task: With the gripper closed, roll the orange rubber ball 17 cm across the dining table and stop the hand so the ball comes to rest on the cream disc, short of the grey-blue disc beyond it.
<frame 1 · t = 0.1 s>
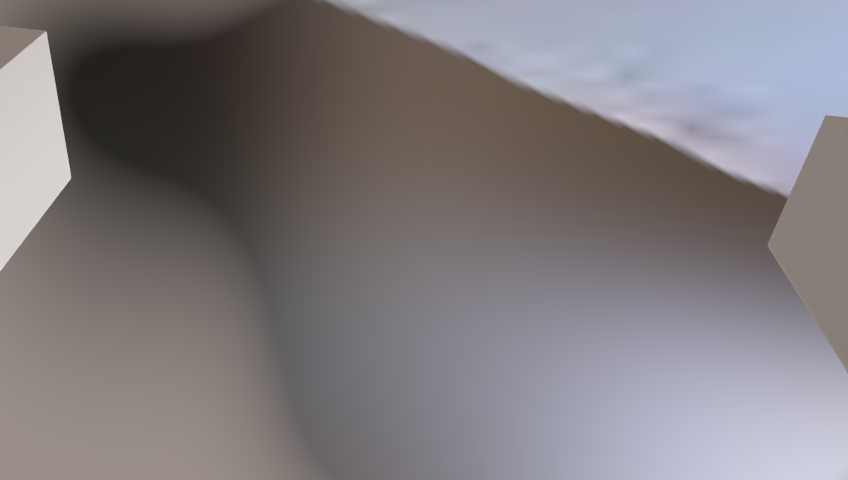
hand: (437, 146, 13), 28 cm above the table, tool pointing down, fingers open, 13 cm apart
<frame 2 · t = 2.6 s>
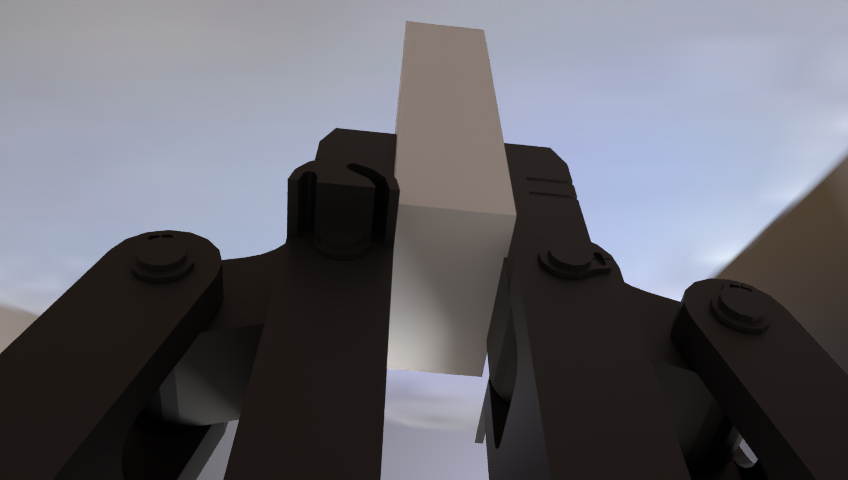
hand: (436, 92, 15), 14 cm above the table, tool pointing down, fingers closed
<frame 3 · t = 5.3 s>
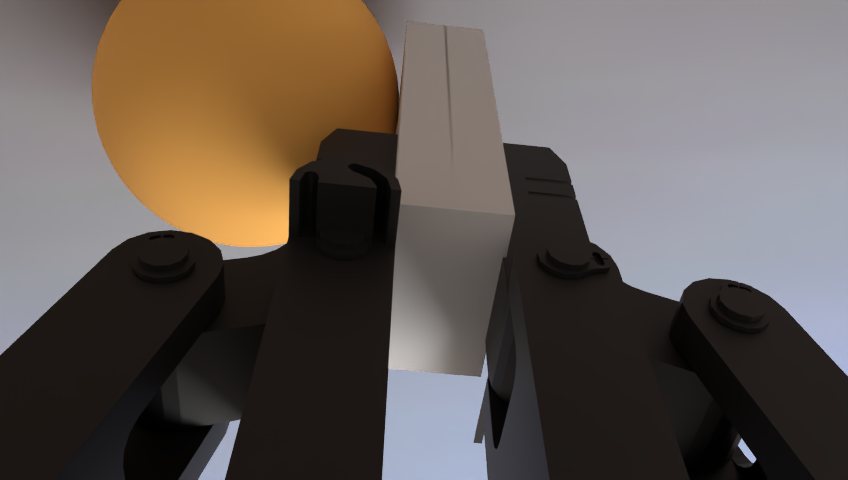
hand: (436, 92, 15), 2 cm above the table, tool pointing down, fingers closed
ball: (251, 100, 14), on the table, touching gripper
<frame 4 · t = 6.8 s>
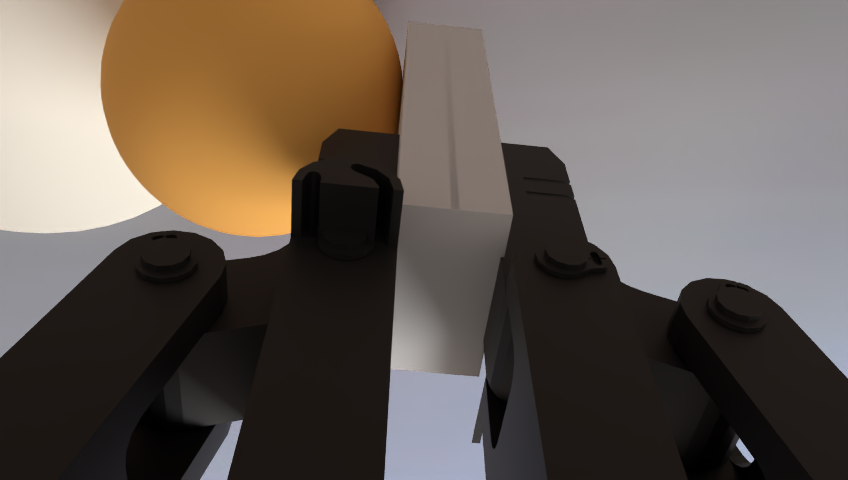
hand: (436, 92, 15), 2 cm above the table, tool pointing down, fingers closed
ball: (257, 91, 15), on the table, touching gripper
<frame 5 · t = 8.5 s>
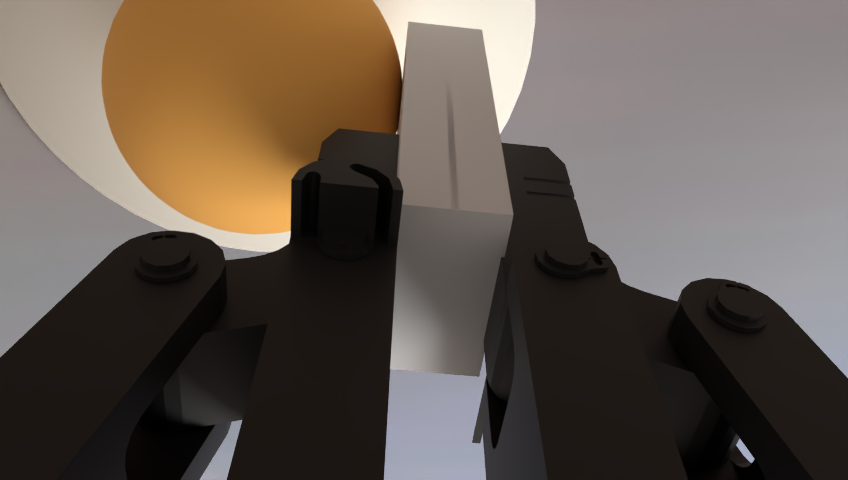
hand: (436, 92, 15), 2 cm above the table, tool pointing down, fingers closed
ball: (258, 89, 15), on the table, touching gripper
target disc: (256, 22, 17), on the table
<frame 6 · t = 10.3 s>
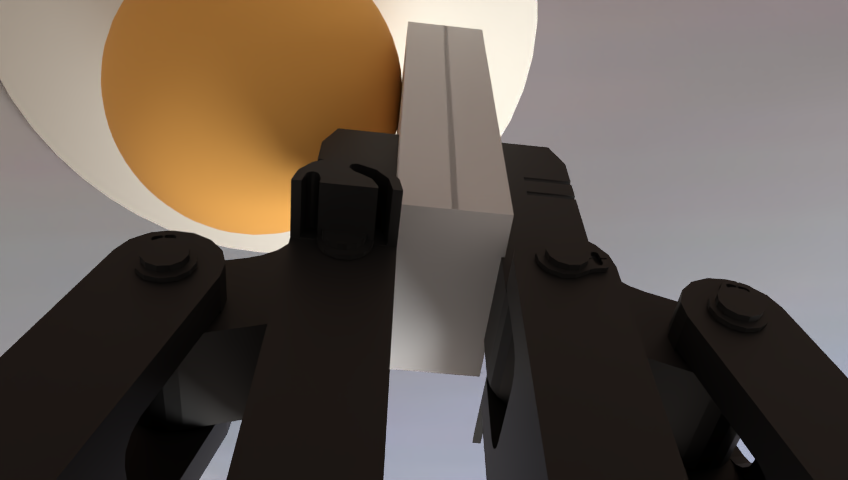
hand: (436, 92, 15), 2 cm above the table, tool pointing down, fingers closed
ball: (257, 90, 15), on the table, touching gripper
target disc: (258, 23, 17), on the table
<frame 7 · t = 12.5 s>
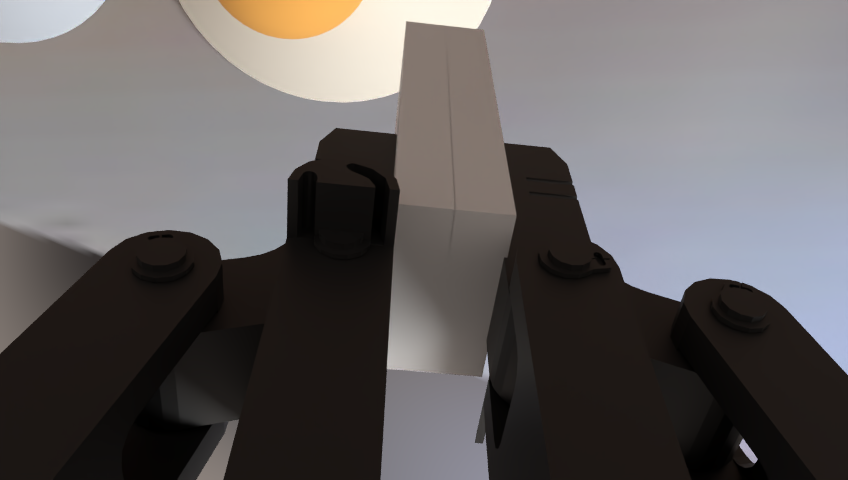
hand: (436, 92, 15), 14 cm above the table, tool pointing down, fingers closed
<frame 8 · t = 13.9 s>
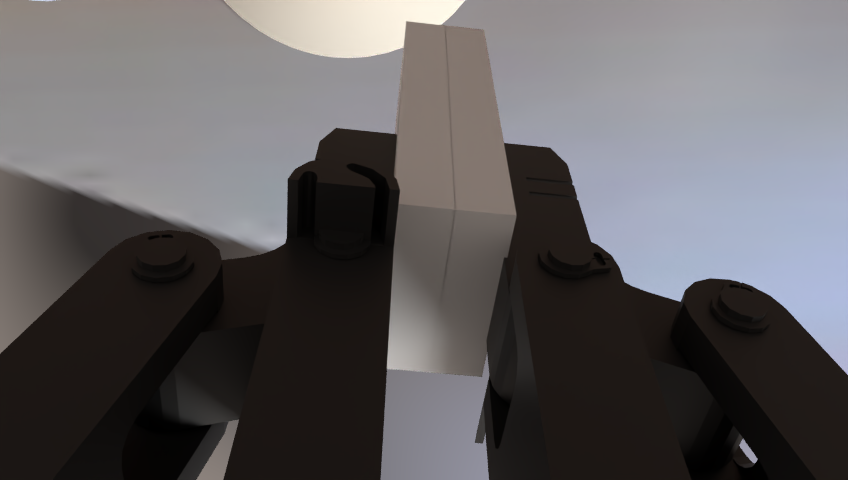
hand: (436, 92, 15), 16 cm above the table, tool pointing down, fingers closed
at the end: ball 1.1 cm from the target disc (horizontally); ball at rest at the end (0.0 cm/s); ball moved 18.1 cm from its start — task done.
